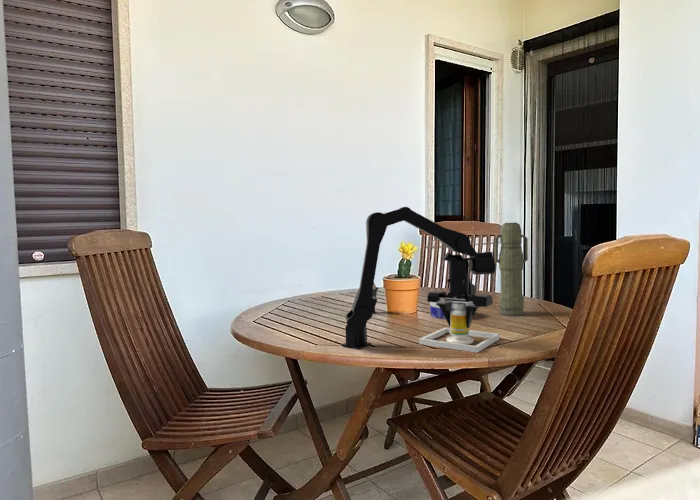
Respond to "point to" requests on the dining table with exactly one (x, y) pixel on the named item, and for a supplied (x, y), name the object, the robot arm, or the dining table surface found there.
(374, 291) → the sundae
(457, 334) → the supplement bottle
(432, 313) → the dog bowl
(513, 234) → the thermos
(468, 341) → the plinth
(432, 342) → the corral
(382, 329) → the dining table surface
